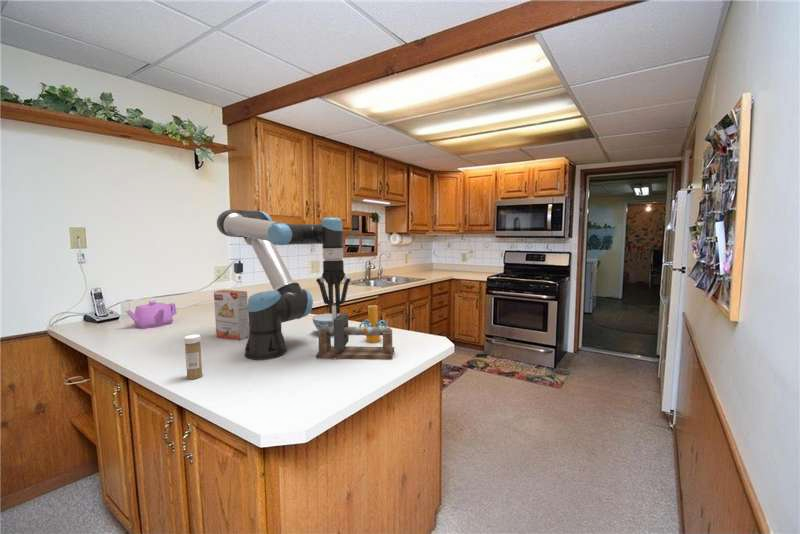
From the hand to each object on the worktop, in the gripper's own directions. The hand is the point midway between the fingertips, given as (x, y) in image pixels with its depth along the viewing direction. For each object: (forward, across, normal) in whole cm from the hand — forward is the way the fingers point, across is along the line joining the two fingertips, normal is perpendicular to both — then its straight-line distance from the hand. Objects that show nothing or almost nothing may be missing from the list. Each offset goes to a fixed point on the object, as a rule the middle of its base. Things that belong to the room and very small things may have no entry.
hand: (335, 322), depth 136 cm
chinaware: (+12, -11, +29) cm, 33 cm away
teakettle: (+12, -106, +40) cm, 114 cm away
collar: (+9, +2, 0) cm, 9 cm away
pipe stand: (+13, +8, 0) cm, 15 cm away
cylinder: (+13, +12, +18) cm, 25 cm away
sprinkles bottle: (+12, -40, -24) cm, 48 cm away
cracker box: (+12, -52, +21) cm, 58 cm away
